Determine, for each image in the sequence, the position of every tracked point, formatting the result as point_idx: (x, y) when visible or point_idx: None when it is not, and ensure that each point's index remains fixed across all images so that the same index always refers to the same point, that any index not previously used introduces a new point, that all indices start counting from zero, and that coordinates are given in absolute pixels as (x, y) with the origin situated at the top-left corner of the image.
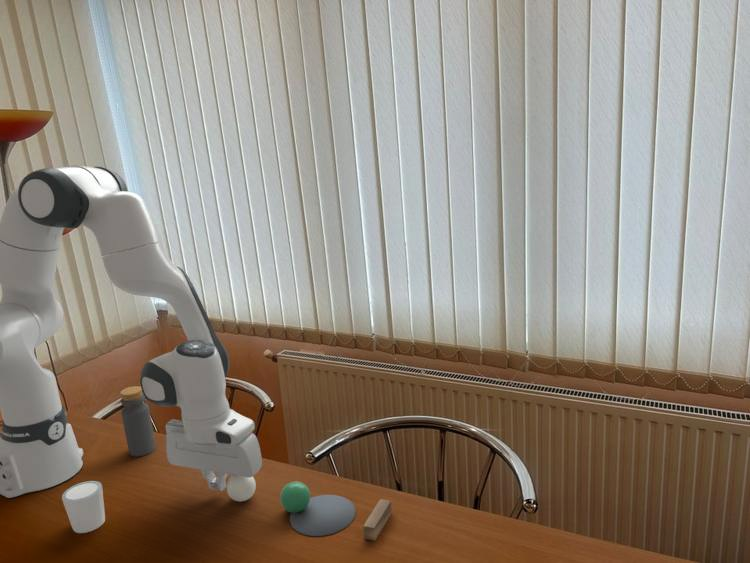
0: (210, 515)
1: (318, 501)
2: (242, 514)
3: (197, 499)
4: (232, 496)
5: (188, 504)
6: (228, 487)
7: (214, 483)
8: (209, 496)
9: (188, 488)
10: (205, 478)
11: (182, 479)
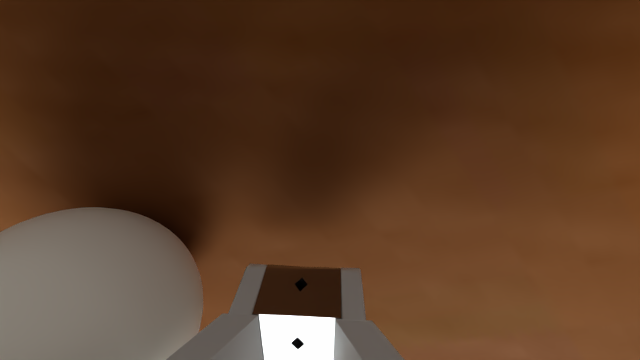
0: (210, 44)
1: None
2: (16, 119)
3: (430, 185)
4: (77, 216)
5: (469, 121)
6: (67, 279)
7: (292, 308)
8: (365, 227)
9: (553, 264)
10: (391, 347)
11: (631, 321)
